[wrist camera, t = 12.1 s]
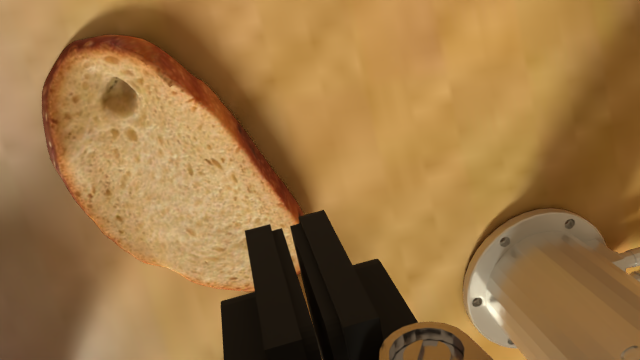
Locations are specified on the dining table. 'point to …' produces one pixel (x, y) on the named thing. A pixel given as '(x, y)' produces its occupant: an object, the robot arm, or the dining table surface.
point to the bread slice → (160, 161)
